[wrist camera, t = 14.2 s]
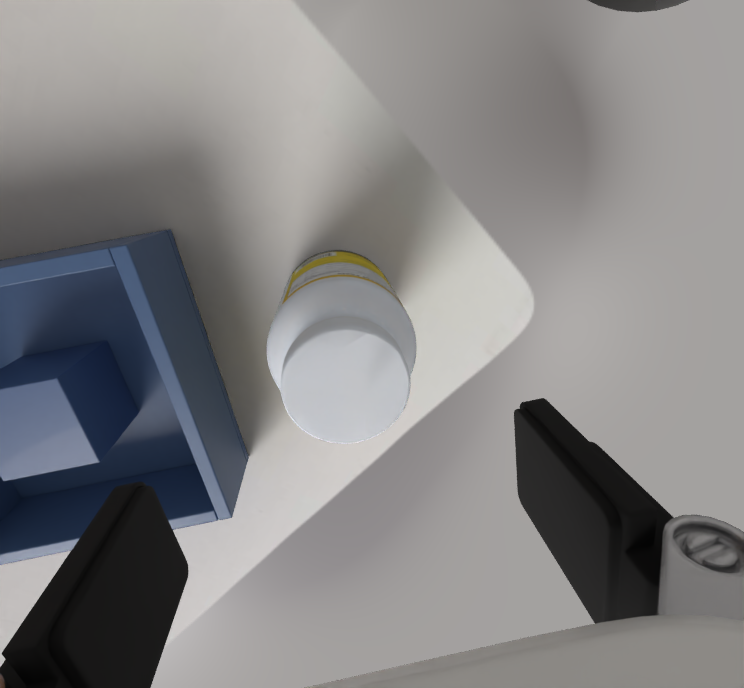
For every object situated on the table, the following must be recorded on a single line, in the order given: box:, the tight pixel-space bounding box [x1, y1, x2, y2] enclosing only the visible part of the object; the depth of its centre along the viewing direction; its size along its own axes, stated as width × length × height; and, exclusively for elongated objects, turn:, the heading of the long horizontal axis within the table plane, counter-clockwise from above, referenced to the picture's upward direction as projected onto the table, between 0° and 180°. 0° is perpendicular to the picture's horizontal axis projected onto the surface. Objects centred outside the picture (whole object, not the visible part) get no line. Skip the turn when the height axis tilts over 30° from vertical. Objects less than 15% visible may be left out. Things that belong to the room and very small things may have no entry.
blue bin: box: [0, 229, 249, 565], centre depth 23 cm, size 16×16×6 cm
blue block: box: [0, 341, 139, 481], centre depth 23 cm, size 5×5×5 cm
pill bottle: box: [267, 250, 416, 444], centre depth 20 cm, size 6×6×12 cm
